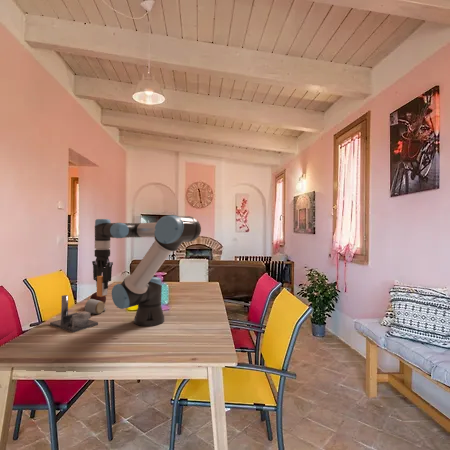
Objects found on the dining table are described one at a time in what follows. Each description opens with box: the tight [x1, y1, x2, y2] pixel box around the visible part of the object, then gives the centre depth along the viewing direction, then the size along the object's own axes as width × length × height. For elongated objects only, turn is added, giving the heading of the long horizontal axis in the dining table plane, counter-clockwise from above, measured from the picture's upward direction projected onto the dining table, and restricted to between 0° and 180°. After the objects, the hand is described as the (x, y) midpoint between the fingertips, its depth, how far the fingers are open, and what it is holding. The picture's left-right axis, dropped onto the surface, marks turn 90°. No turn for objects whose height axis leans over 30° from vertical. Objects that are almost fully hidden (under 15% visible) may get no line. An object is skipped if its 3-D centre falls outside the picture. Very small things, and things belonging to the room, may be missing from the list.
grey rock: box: [72, 310, 92, 327], centre depth 146 cm, size 6×8×6 cm
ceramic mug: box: [84, 298, 107, 315], centre depth 171 cm, size 11×8×8 cm
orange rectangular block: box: [96, 275, 108, 297], centre depth 156 cm, size 3×3×10 cm
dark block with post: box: [49, 294, 99, 333], centre depth 149 cm, size 19×13×13 cm
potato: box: [89, 291, 107, 305], centre depth 182 cm, size 9×12×9 cm
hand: (102, 294), depth 156 cm, fingers closed on orange rectangular block, 3 cm apart
